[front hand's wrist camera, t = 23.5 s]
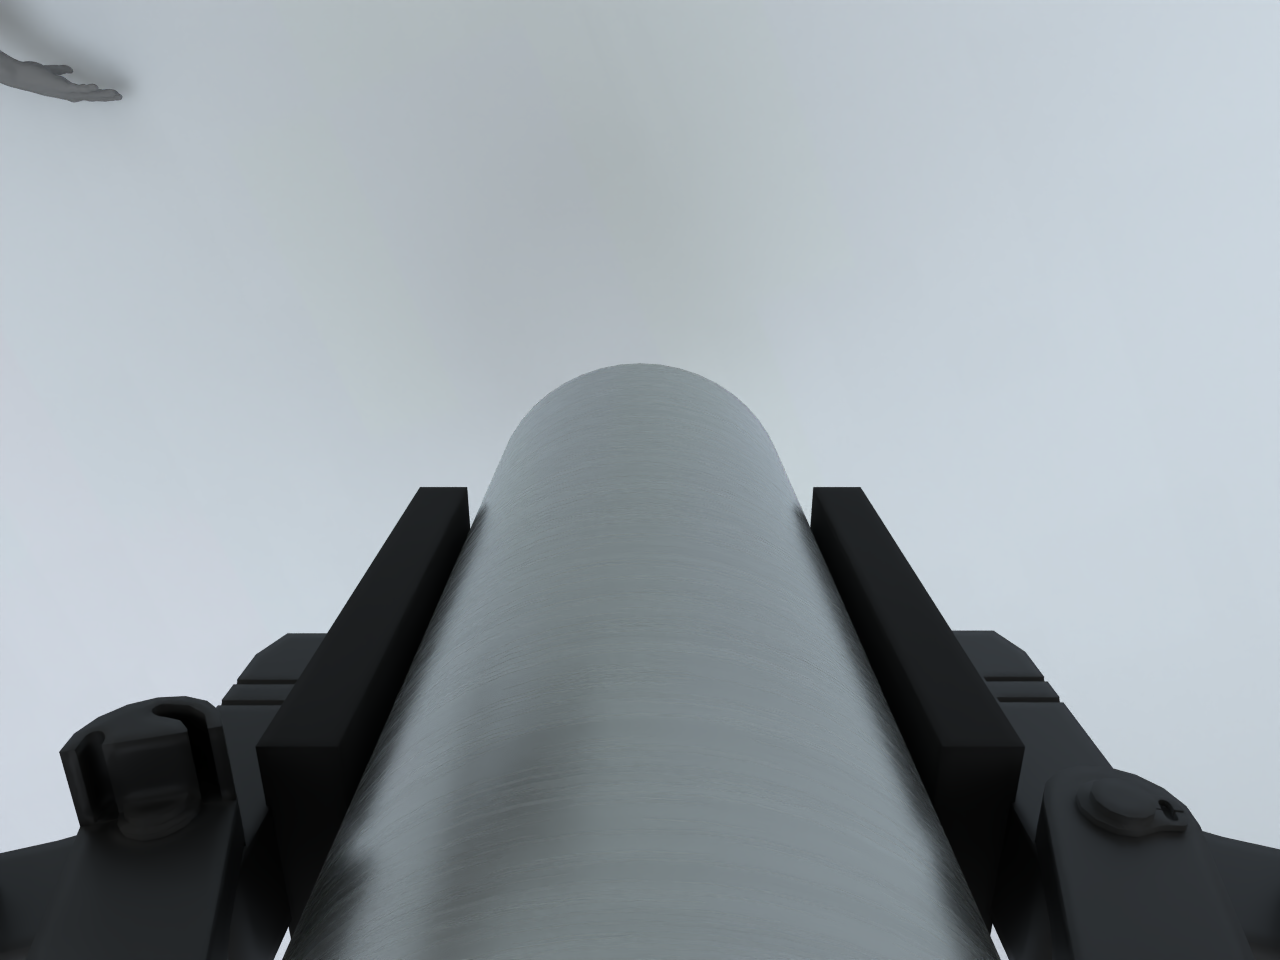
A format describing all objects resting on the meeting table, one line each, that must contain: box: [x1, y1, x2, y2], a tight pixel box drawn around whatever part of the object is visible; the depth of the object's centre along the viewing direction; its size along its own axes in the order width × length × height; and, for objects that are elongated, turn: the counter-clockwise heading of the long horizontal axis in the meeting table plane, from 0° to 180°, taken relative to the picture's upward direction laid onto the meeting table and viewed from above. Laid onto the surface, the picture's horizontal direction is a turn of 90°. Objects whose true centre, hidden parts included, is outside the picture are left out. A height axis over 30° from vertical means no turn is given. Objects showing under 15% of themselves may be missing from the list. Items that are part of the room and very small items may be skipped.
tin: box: [282, 363, 1001, 960], centre depth 11 cm, size 6×6×13 cm
